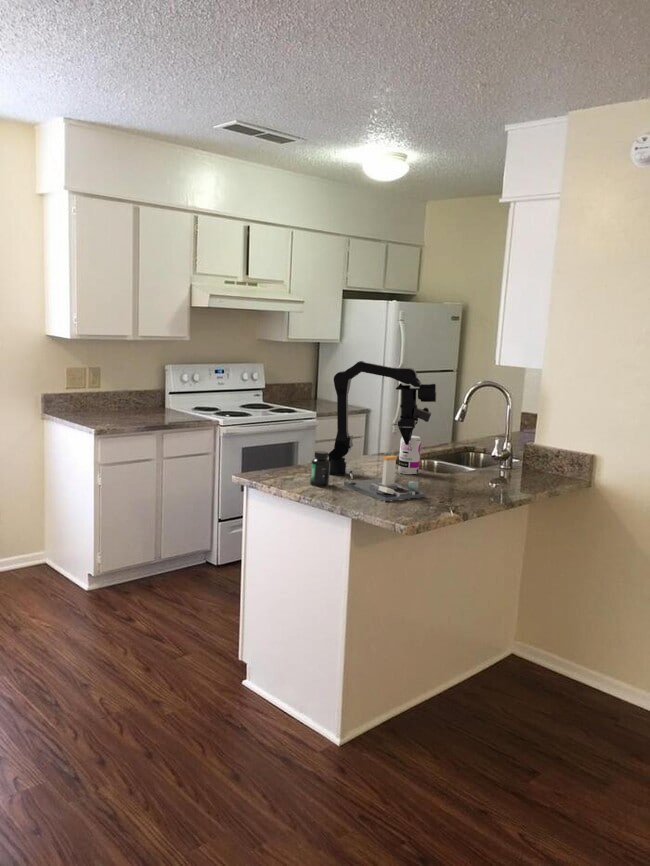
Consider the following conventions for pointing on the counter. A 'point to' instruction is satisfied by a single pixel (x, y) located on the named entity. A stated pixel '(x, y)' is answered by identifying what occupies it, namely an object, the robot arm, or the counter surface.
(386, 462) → the slide paddle
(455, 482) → the counter surface
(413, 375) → the robot arm
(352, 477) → the toggle lever
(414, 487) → the push button
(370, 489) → the console
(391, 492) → the rocker switch
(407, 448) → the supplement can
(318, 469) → the supplement bottle
